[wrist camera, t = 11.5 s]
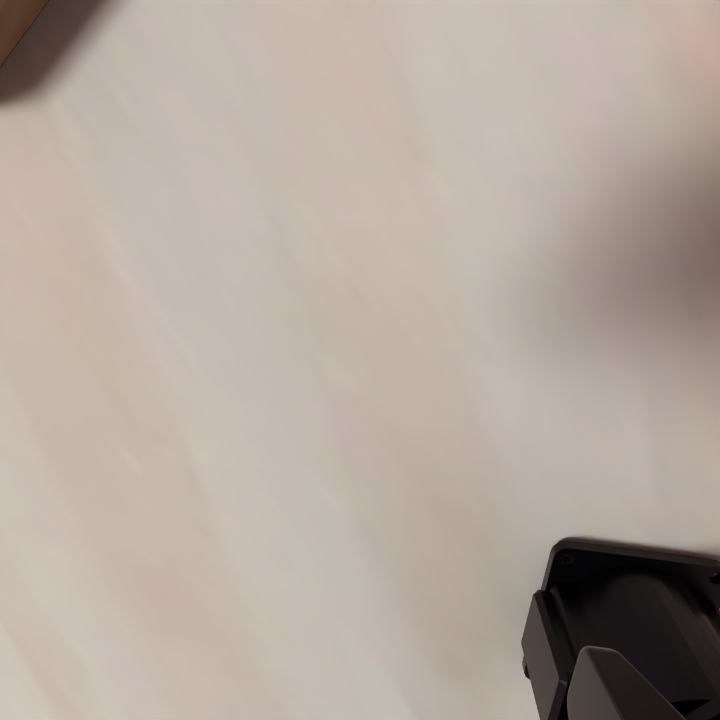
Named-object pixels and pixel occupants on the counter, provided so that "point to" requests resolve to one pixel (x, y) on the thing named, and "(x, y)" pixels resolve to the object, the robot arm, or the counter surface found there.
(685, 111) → the counter surface
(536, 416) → the counter surface
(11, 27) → the tray
